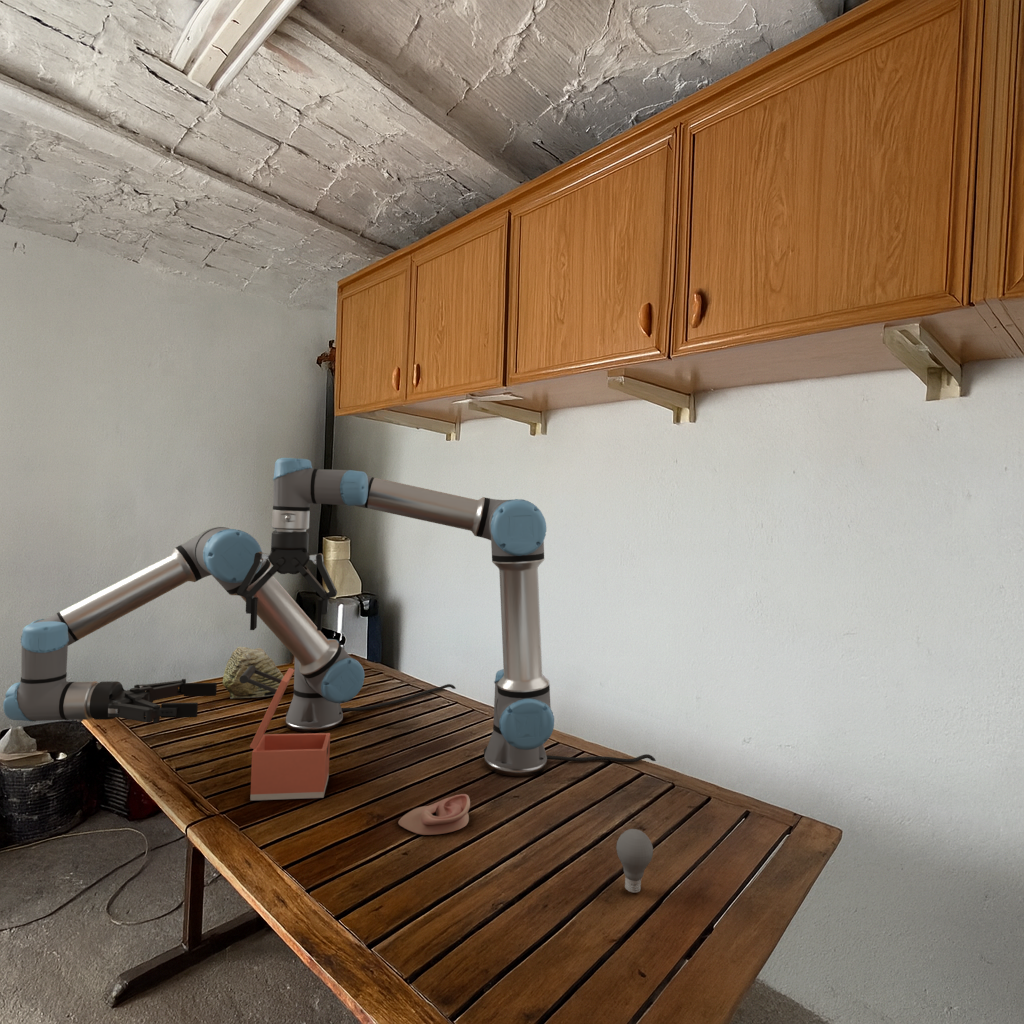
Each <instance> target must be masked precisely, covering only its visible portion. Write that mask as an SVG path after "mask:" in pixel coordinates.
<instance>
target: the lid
mask: <svg viewBox="0 0 1024 1024" xmlns="http://www.w3.org/2000/svg"><path fill="white" fill-rule="evenodd" d="M294 671H295V670H294V668H292V667H288V669H287V671H286V672H285V673H284V675H283V676H284V677H283V679H279V678H276V677H274V676H271V675H269V674H266V673H264V672H261V671H259V670H256V667H255V666H253V665H252V666H249V668H248V669H247V670H246V671H245V672H244V673H243V674H242V676H241V677H240V679H239V680H240V682H241V683H246V682H248V683H250V684H253V685H255V686H258V687H260V688H263V689H266V690H268V691H271V692H273V693H275V695H273V697H272V699H271V701H270V703H269V705H268V707H267V710H266V712H265V714H264V716H263V717H262V720H261V722H260V725H259V727H258V728H257V730H256V733H255V735H254V737H253V739H252V741H251V742H250V745H249V749H253V750H254V749H256V747H257V746H258V744H259V742H260V740H261V739H262V737H263V735H264V734H266V731H267V729H268V727H269V725H270V722H271V721H272V719H273V717H274V714H275V712H276V711H277V708H278V706H279V704H280V702H281V700H282V698H283V696H284V694H285V691H286V689H287V687H288V685H289V683H290V681H291V679H292V678H293V676H294ZM254 673H255V674H258V675H260V676H263V677H265V678H268V679H270V680H273V681H275V682H278V683H280V685H279V687H278V689H275V688H272V687H270V686H267V685H265V684H262V683H260V682H257V681H255V680H252V679H250V678H251V676H252V675H253V674H254Z"/></svg>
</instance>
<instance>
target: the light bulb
mask: <svg viewBox="0 0 1024 1024" xmlns="http://www.w3.org/2000/svg"><path fill="white" fill-rule="evenodd" d="M615 849H616V854H617V857H618V859H619V861H620V863H621V865H622V867H623V873H624V874H623V875H624V876H625V878H624V888H625V890H627V891H628V892H630V893H634V894H635V893H639V892H640V891H641V889H642V887H641V886H642V879H643V877H644V875H645V871H646V868H647V867H648V866H649V864H650V863H651V861H652V859H653V855H654V847H653V843H652V841H651V838H649V836H648V835H647V834H646V833H645V832H643V831H642V830H641V829H636V828H629V829H627V830H625V831H623V832H622V833H621V834H620V835H619V837H618V839H617V841H616V847H615Z"/></svg>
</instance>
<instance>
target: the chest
mask: <svg viewBox="0 0 1024 1024" xmlns="http://www.w3.org/2000/svg"><path fill="white" fill-rule="evenodd" d="M330 747H331V733H330V732H307V733H264V735H263V737H262V739H261V740H260V742H259V744H258V746H257V747H256V749H253V750H252V752H251V768H250V769H251V771H250V772H251V773H250V795H249V796H250V797H249V798H250V799H249V800H250V801H273V800H300V799H304V800H305V799H324V797H325V793H326V790H327V786H328V782H329V776H330V775H329V774H330V749H331V748H330Z"/></svg>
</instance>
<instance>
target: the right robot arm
mask: <svg viewBox="0 0 1024 1024" xmlns="http://www.w3.org/2000/svg"><path fill="white" fill-rule="evenodd" d="M272 481H273V486H272V488H273V489H272V514H271V515H272V516H271V528H272V529H274V530H273V531H272V532H271V542H270V552H269V553H265V552H263V551H262V552H257V553H256V554H255V557H254V563H253V565H252V566H251V568H250V570H249V572H248V573H247V575H246V577H245V579H244V580H243V582H242V584H241V586H240V587H239V589H238V591H237V595H236V596H239V597H241V596H243V597H245V598H246V602H245V613H246V614H249V615H250V619H249V620H250V621H249V623H250V624H249V631H255V630H256V629H257V627H258V615H257V604H258V597H254V595H255V594H256V593H257V592H258V591H259V590H260V589H261V588H262V587H263V586H264V585H265V583H266V582H267V581H268V580H269V579H270V578H271V577H272V576H275V574H276V573H278V574H280V575H286V574H291V575H298V574H301V576H302V577H304V579H305V580H306V581H307V582H308V583H309V585H310V586H311V587H312V588H313V590H314V591H315V593H317V594H318V596H319V597H320V598H318V600H317V621H316V627H317V631H321V632H322V629H323V620H324V619H323V618H324V617H323V615H327V614H328V612H329V601H330V600H329V599H332V598H335V597H337V595H338V590H337V588H336V586H335V584H334V582H333V580H332V578H331V575H330V573H329V571H328V569H327V567H326V564H325V561H324V554H323V553H321V552H320V553H317V554H316V553H315V554H310V552H309V538H310V537H309V536H310V534H309V531H307V530H309V529H310V517H311V516H310V515H311V514H310V513H311V512H310V506H311V504H314V505H317V504H321V505H333V506H334V505H337V506H338V505H339V506H347V507H358V508H364V509H368V510H374V511H377V512H383V513H387V514H392V515H396V516H397V515H398V516H402V517H405V518H410V519H415V520H420V521H422V522H423V521H424V522H428V523H433V524H438V525H442V526H447V527H451V528H456V529H461V530H465V531H469V532H472V534H473V535H474V537H478V538H481V539H486V540H488V541H490V543H491V547H490V548H491V562H492V563H493V565H494V566H496V567H497V568H498V571H499V572H498V573H499V592H500V593H499V595H500V597H499V599H500V615H501V616H500V617H501V619H500V620H501V640H502V641H501V642H502V643H501V644H502V663H503V668H501V669H499V670H498V671H496V673H495V678H494V681H493V682H494V700H493V701H494V703H493V722H492V723H493V724H492V726H493V727H492V732H491V736H490V738H489V741H488V743H487V746H486V747H485V748H484V749H483V755H484V757H483V760H484V761H483V763H484V766H485V767H486V768H487V769H488V770H489V771H491V772H494V773H496V774H498V775H503V776H508V777H529V776H534V775H537V774H539V773H542V772H544V770H546V768H547V765H548V764H547V763H548V762H547V761H548V760H550V761H551V760H552V761H563V762H564V761H565V762H578V763H579V762H581V763H582V762H591V761H606V762H607V761H608V762H616V763H625V764H632V763H637V762H639V761H643V760H645V759H649V760H650V761H652V762H656V761H657V759H656V758H655V757H654V756H653V755H651V754H648V753H646V754H645V753H644V754H642V755H639V756H637V757H633V758H621V757H614V756H605V755H604V756H603V755H600V756H598V755H597V756H586V757H583V756H582V757H570V756H563V755H561V756H560V755H549V754H548V755H547V753H546V749H545V745H544V744H545V743H546V742H547V741H548V740H549V739H550V738H551V736H552V734H553V731H554V728H555V716H554V712H553V710H552V708H551V706H552V705H551V688H550V687H551V685H550V680H549V679H548V678H547V677H546V676H545V675H544V674H543V660H542V657H543V656H542V633H541V611H540V610H541V609H540V584H539V567H540V565H542V563H543V562H544V561H545V538H546V535H547V534H546V533H547V522H546V518H545V516H544V514H543V512H542V511H541V510H540V509H539V507H538V506H537V505H536V504H534V503H532V502H530V501H529V500H526V499H522V498H520V499H519V498H515V499H496V498H490V497H484V496H482V497H481V498H479V499H474V498H470V497H465V496H461V495H456V494H452V493H447V492H443V491H437V490H433V489H429V488H425V487H419V486H415V485H410V484H406V483H401V482H398V481H392V480H387V479H383V478H380V477H379V478H378V477H373V476H369V475H368V474H367V473H366V472H365V471H362V470H354V469H323V468H320V469H319V468H314V467H313V465H312V461H311V460H310V459H309V458H295V457H280V458H277V459H276V460H275V462H274V471H273V478H272ZM266 559H268V560H269V561H270V563H271V569H270V570H269V571H268V572H267V573H266V574H265V575H264V576H263V577H262V578H261V579H260V580H259V582H258V583H257V584H256V585H255V586H254V587H253V588H252V589H251V590H250V591H247V588H248V587H249V585H250V583H251V581H252V580H253V578H254V576H255V574H256V573H257V571H258V569H259V567H260V565H261V563H264V562H265V560H266ZM310 561H312V564H314V565H316V567H317V570H318V571H319V574H320V576H321V578H322V580H323V582H324V584H325V587H326V588H327V590H328V591H327V590H326V589H325V588H324V586H323V585H321V583H320V582H319V581H318V579H317V578H316V577H315V576H314V575H313V574H312V573H311V570H310V569H309V568H308V566H307V564H308V563H309V562H310Z"/></svg>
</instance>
